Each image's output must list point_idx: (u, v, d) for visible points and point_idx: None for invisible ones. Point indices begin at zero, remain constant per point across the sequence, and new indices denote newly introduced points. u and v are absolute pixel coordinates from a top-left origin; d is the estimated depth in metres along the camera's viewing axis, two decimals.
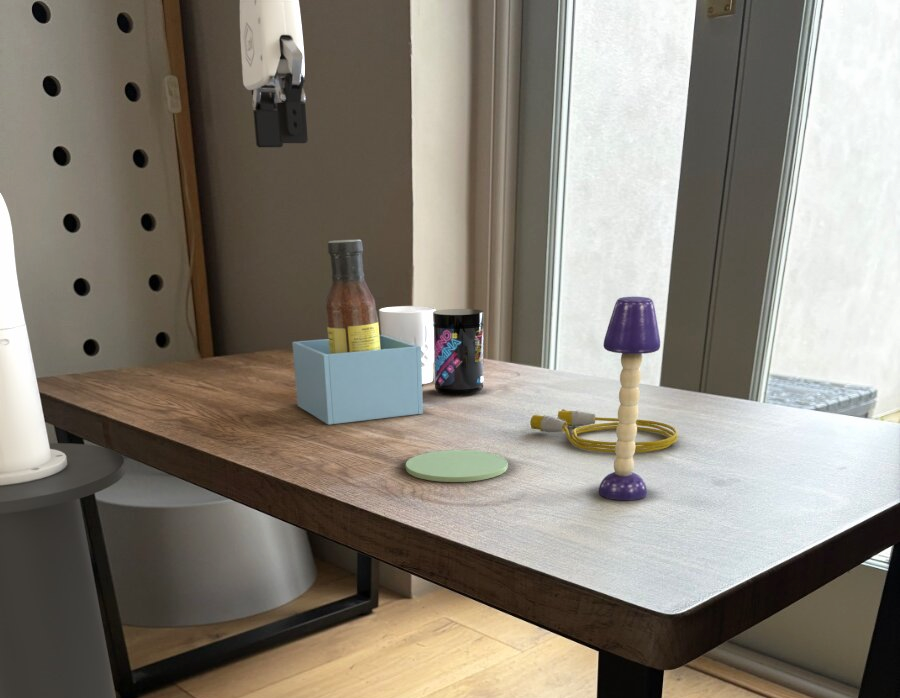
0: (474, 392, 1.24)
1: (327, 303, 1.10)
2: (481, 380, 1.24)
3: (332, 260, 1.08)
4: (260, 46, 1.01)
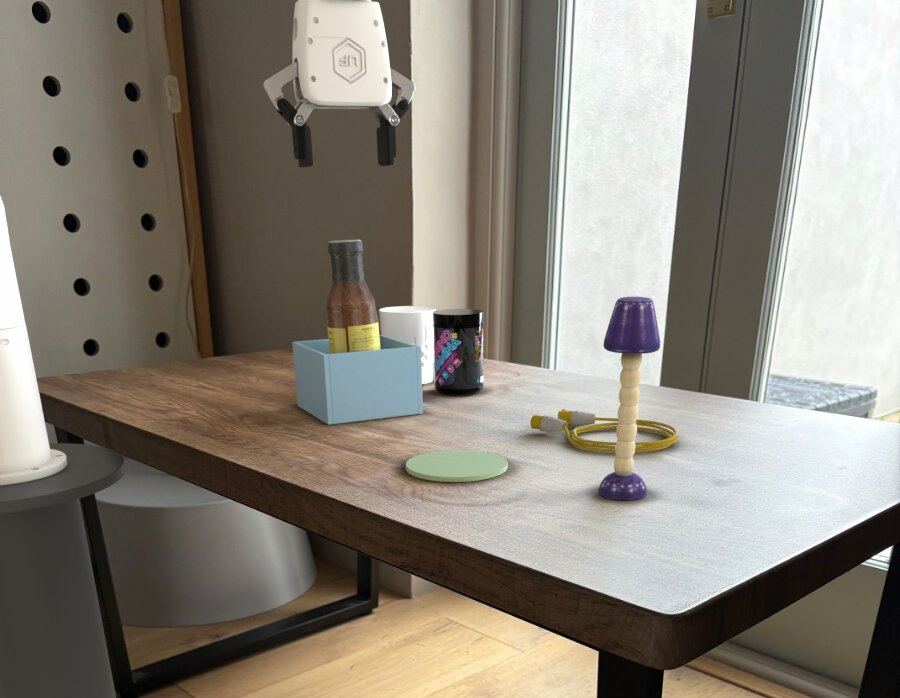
0: (474, 392, 1.24)
1: (327, 303, 1.10)
2: (481, 380, 1.24)
3: (332, 260, 1.08)
4: (383, 68, 1.01)
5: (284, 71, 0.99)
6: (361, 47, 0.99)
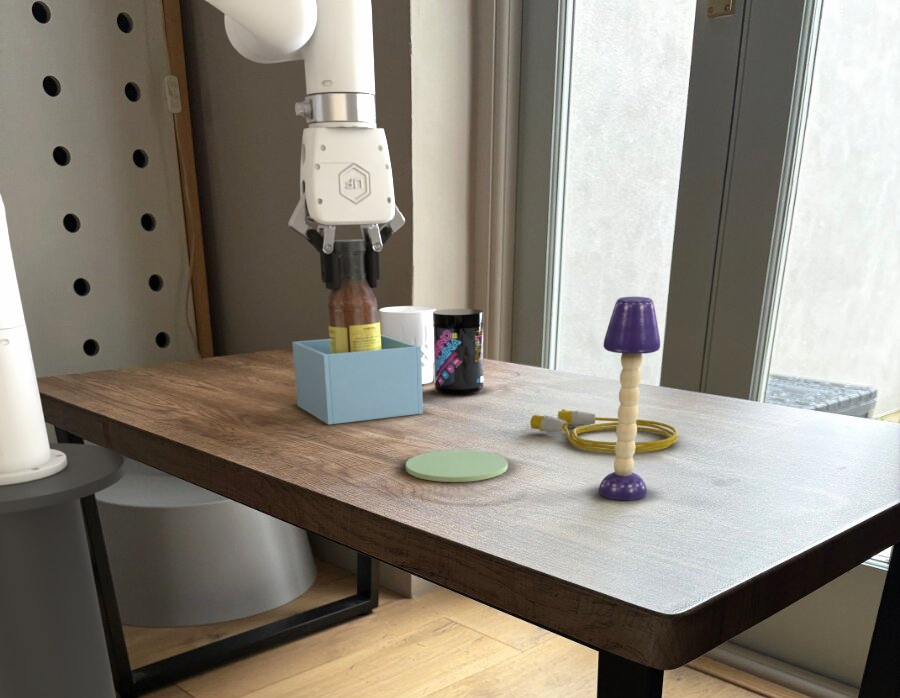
0: (474, 392, 1.24)
1: (329, 302, 1.10)
2: (481, 380, 1.24)
3: None
4: (387, 189, 1.06)
5: (301, 206, 1.04)
6: (366, 171, 1.04)
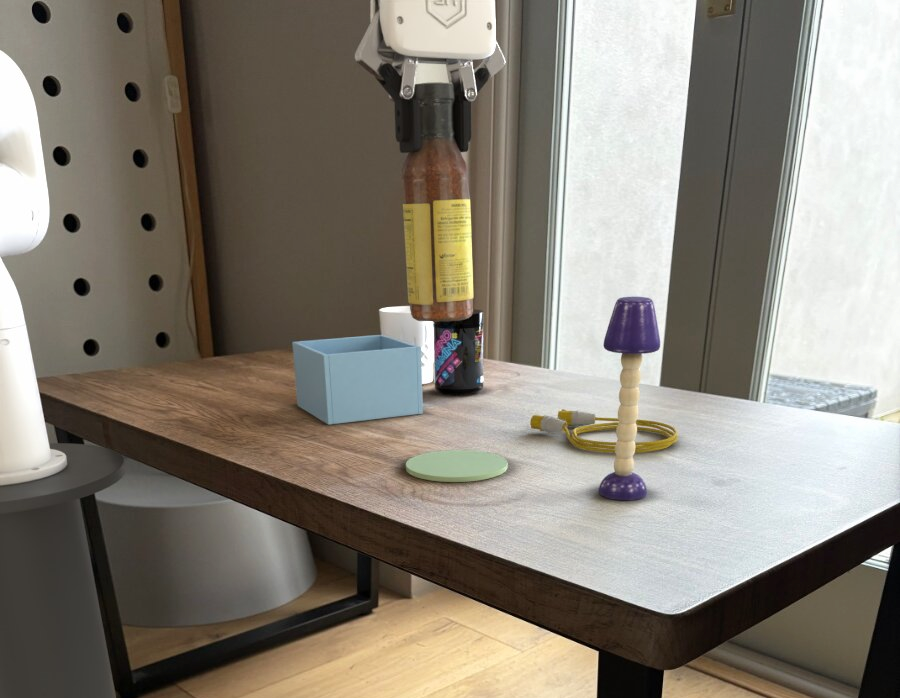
0: (474, 392, 1.24)
1: (405, 170, 0.83)
2: (481, 380, 1.24)
3: None
4: (487, 10, 0.78)
5: (373, 30, 0.77)
6: None
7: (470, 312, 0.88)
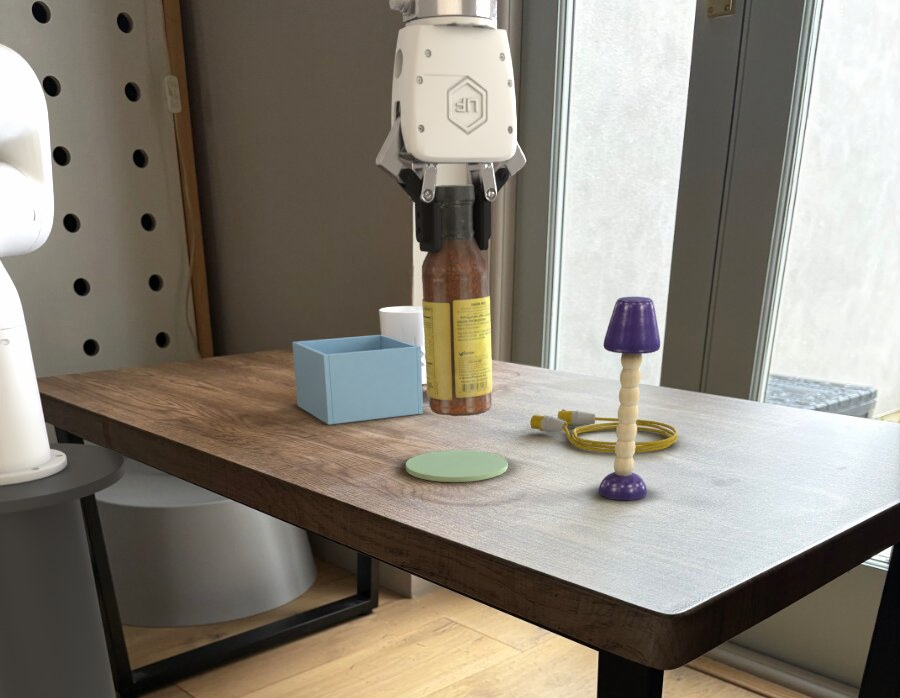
0: None
1: (425, 269, 0.83)
2: None
3: None
4: (508, 115, 0.78)
5: (394, 137, 0.77)
6: (483, 88, 0.76)
7: (489, 405, 0.88)
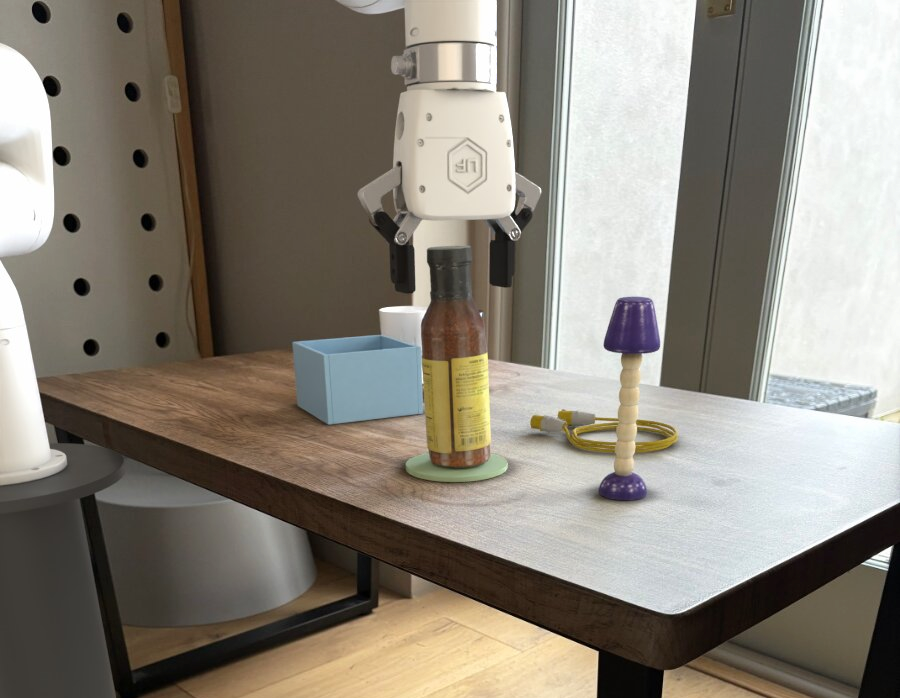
0: None
1: (424, 328, 0.85)
2: None
3: (432, 272, 0.83)
4: (507, 174, 0.80)
5: (385, 179, 0.78)
6: (482, 149, 0.78)
7: (488, 457, 0.90)
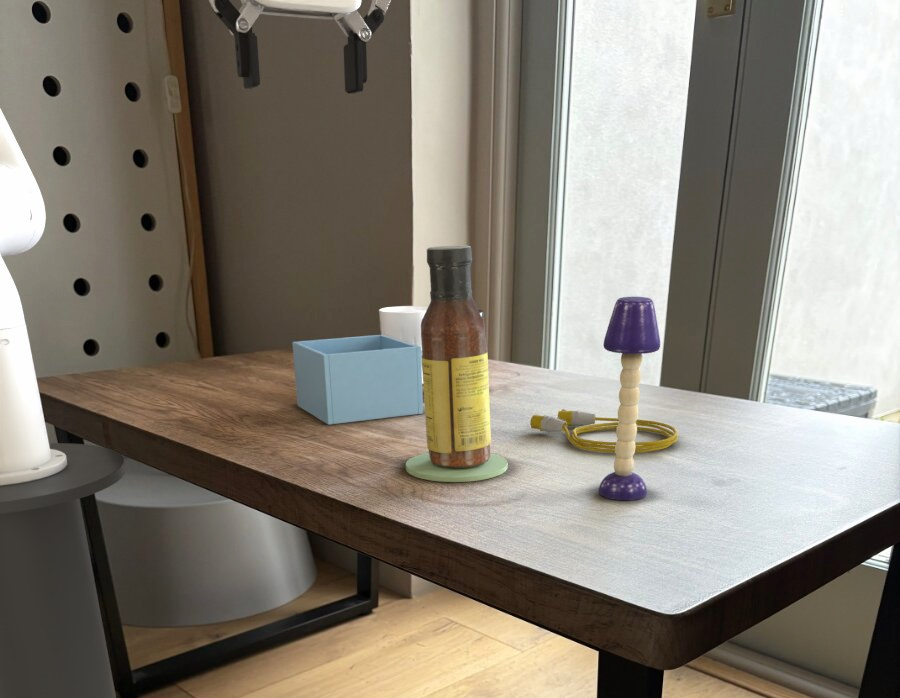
0: None
1: (424, 328, 0.85)
2: None
3: (432, 272, 0.83)
4: None
5: None
6: None
7: (488, 457, 0.90)
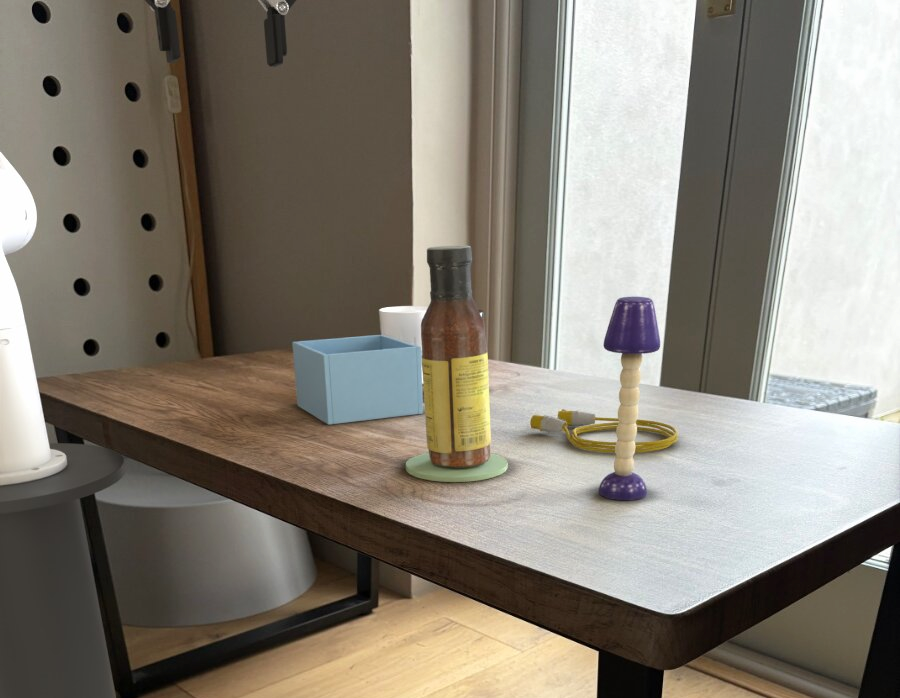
0: None
1: (424, 328, 0.85)
2: None
3: (432, 272, 0.83)
4: None
5: None
6: None
7: (488, 457, 0.90)
